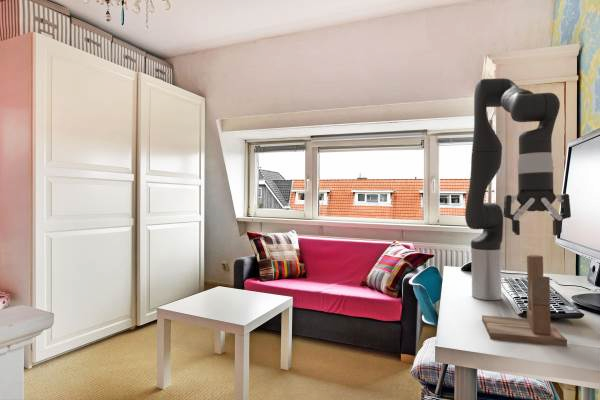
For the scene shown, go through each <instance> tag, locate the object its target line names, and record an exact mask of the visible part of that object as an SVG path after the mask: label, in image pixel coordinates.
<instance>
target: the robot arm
mask: <svg viewBox="0 0 600 400" xmlns="http://www.w3.org/2000/svg"><path fill="white" fill-rule="evenodd" d="M473 94H474V96H473V98H474V99H473V104H474V105H473V116H474V119H473V120H474V121H473V138H472V148H471V157H470V158H471V159H470V176H469V188H468V194H467V198H466V204H465V205H466V206H465V214H464V217H465V218H464V219H465V224H466V225H467V227H468V228H469V229H471V230H482V232H481V234H480V235H479V236H477V237H475V238H474V239H473V238H472V240H471V242H470V251H471V252H470V253H471V255H470V256H471V258H470V259H471V262H470V263H471V297H473V298H475V299H477V300H483V301H500V300H501V299H502V263H501V262H502V261H501V260H502V257H501V255H502V254H501V244H502V243H503V235H504V231H503V230H504V218H506V219H510V220H511V231H512V233H514V235H515V236H520V233H521V229H520V227H521V225H520V224H521V222H520V220H519V219H520V218H521V217H522V216H523V215H524V214H525V213H526V211H527V212H547V213H548V215H550V216H551V218H552V219H553V220H552V235H553V236H555V237H557V236H560V234H561V233H562V232H563V229H562V228H563V224H562V223H563V222H562V221H563V220H565V219H570V218H571V217H572V214H571V212H572V211H571V201H570V195H569V194H568V193H562V194H555V192H554V170H555V167H554V159H553V155H552V151H553V150H552V149H553V147H552V143H553V142H552V138H553V137H552V136H553V132H554V128H555V124H556V121H557V117H558V115H559V111H560V107H561V103H560V99H559V97H558V96H557V95H556V94H555V93H553V92H540V93H539V92H538V93H534V92H532V91H531V90H529V89H524V88H522V87H521V88H520V87H519V86H518V85H517V84H516V83H514V81H513V80H511V79H510V78H500V77H497V78H481V79H479V80H478V81H477V82H476V85H475V88H474V93H473ZM500 107H502V109H503V110H504V111H506V112H508V113H510V116H511V120H513V121H514V122H517V123H533V122H538V126H537V127H536V129H531V130H527V131H524V132H523V131H522V133H520V134H519V136H518V160H517V182H518V183H517V184H518V186H517V188H518V192H517V194H516V195H510V194H506V195H504V198H503V199H504V200H503V201H504V202H503V209H502V208H501V206H500V205H499V204H497V203H494V202H485V197H486V191H487V190H488V187H489V185H490V184H491V182H492V181H493V180H494V178H495V176H497V174H498V172H499V170H500V168H501V165H502V157H503V156H502V155H503V154H502V153H503V145H502V143H501V142H502V141H501V139H500V138H499V137H498V135H497V134H496V132H495V131H494V129H493V127H492V126H491V123H490V121H489V116H488V108H500ZM556 200H557V202H558V203H559V204H560V209H561V212H560V213H559V212H558V209H556V208H555V207H554V206H553V205H552V204H554V202H555V201H556ZM515 201H517V202H518V203H519V206H518V207H517V208H516V210H515V212H514V213H513V214H512V204H514V203H515Z"/></svg>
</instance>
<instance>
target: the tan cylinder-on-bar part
mask: <svg viewBox="0 0 600 400" xmlns="http://www.w3.org/2000/svg"><path fill="white" fill-rule="evenodd" d="M526 276H527V277H526V278H527V279H526V280H527V282H526V283H527V307H526V319H527V320H528V322H529V324H530V326H531V329H532V331H533V333H535V334H543V335H550V334H551V325H550V323H551V293H550V291H551V288H550V287H551V286H550V283H551V282H550V281H551V279H550V276H544V256H543V255H539V254H527V255H526Z"/></svg>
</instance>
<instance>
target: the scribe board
mask: <svg viewBox="0 0 600 400" xmlns="http://www.w3.org/2000/svg"><path fill="white" fill-rule="evenodd" d="M481 321H482V323H483V325H484V327H485V330H486V332H487V334H488V337H489V339H490V340H491V339H492V340H502V341H509V342H510V341H511V342H522V343H532V344H541V345H542V344H543V345H550V346H551V345H552V346H562V347H563V346H564V347H567V346H568V340H567V338H566V337H565V336H564V335H563V334H562V333H561V332H560V331H559V330H558V329H557V328H556V327H555V326H554V325H553V324H552V323H551V322H550V325H551V334H550V335H543V334H535V333H533V331H532V329H531V326H530V324H529V322H528V320H527V318H521V317H520V318H519V317H508V316H497V315H495V316H494V315H484V314H482V315H481Z"/></svg>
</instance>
